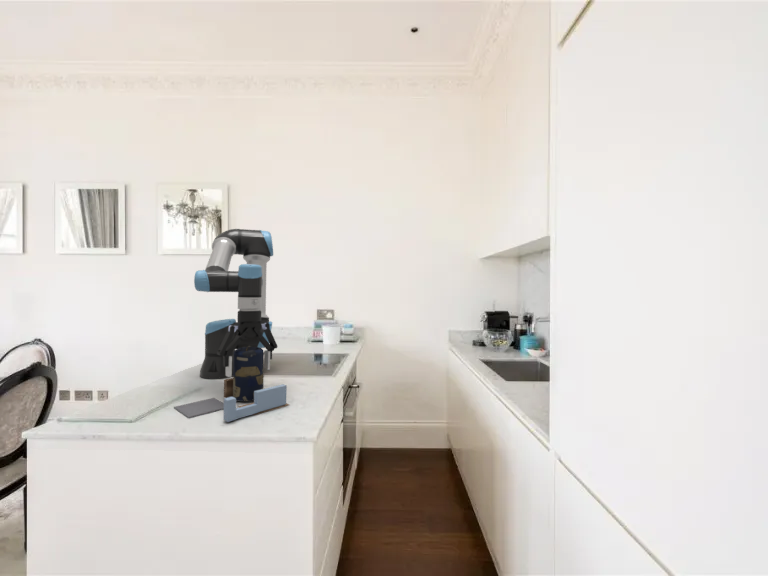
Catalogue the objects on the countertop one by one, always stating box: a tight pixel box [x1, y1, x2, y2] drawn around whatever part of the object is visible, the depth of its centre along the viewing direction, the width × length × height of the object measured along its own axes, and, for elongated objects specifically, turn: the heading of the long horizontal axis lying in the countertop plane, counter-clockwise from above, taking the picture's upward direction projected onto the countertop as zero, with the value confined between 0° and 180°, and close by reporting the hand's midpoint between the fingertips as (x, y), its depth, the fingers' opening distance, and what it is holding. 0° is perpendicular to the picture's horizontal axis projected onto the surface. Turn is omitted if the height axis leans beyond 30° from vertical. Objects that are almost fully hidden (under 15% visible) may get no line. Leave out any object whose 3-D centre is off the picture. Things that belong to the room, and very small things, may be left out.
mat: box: [173, 397, 224, 419], centre depth 106 cm, size 12×12×1 cm
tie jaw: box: [223, 383, 288, 423], centre depth 102 cm, size 3×19×6 cm, turn 139°
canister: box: [232, 346, 265, 402], centre depth 115 cm, size 10×10×18 cm
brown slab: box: [223, 377, 290, 416], centre depth 113 cm, size 23×12×6 cm, turn 49°
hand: (248, 372), depth 115 cm, fingers open, 13 cm apart
